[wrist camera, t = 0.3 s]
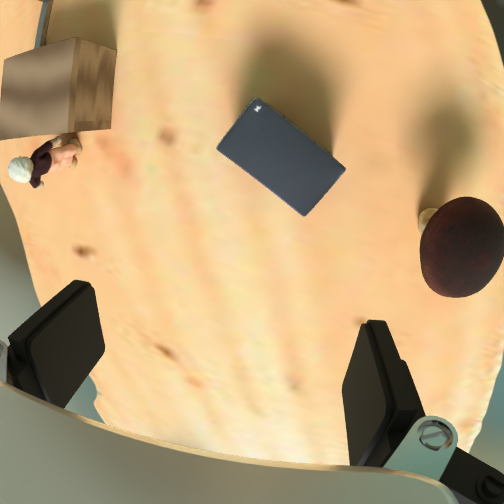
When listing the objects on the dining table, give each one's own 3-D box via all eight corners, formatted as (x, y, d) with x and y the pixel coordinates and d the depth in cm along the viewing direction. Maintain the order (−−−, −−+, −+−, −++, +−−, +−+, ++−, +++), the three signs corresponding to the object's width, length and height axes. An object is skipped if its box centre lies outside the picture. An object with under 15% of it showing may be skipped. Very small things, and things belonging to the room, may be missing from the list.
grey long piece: (47, -18, 30) (21, -28, 23) (76, -29, 29) (51, -42, 23) (31, 68, 36) (1, 66, 29) (59, 61, 35) (28, 57, 29)
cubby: (47, 64, 35) (4, 59, 26) (116, 50, 34) (75, 37, 25) (43, 133, 40) (-1, 140, 31) (110, 129, 38) (67, 132, 30)
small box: (231, 144, 38) (210, 149, 28) (264, 102, 36) (255, 92, 26) (300, 197, 39) (303, 221, 30) (334, 157, 37) (349, 167, 27)
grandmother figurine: (68, 128, 39) (7, 135, 27) (87, 135, 39) (26, 144, 27) (57, 176, 42) (-2, 196, 30) (75, 185, 42) (17, 207, 30)
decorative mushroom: (391, 178, 37) (441, 206, 23) (464, 180, 35) (532, 209, 21) (387, 260, 41) (425, 322, 27) (457, 257, 39) (511, 311, 25)
